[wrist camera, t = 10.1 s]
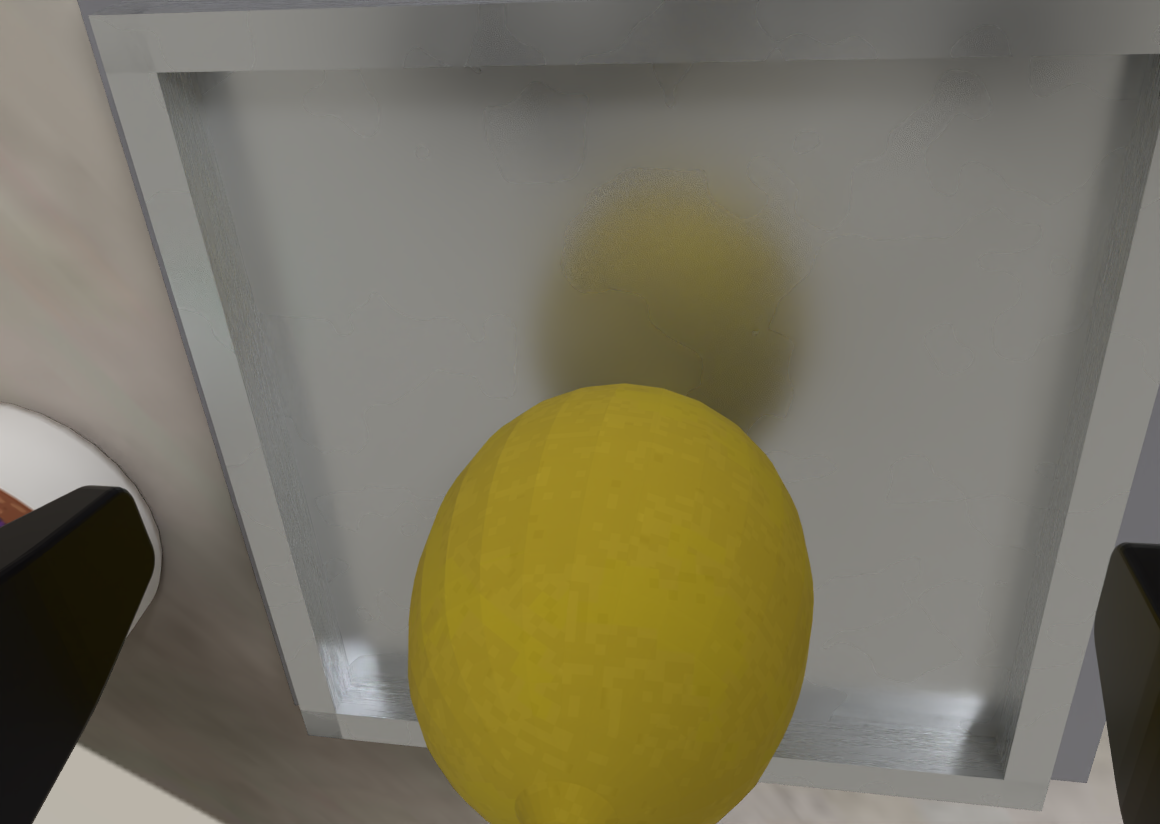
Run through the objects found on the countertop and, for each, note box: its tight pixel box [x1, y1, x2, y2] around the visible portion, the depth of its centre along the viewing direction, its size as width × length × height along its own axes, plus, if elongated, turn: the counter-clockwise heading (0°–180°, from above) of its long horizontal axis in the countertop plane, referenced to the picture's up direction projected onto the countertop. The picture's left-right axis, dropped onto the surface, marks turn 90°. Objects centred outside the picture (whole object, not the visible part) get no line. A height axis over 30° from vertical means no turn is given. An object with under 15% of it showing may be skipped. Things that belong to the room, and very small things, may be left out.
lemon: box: [408, 383, 814, 824], centre depth 15 cm, size 6×6×8 cm
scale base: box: [77, 0, 1160, 783], centre depth 20 cm, size 18×18×3 cm
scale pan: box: [88, 0, 1160, 811], centre depth 19 cm, size 15×17×4 cm
